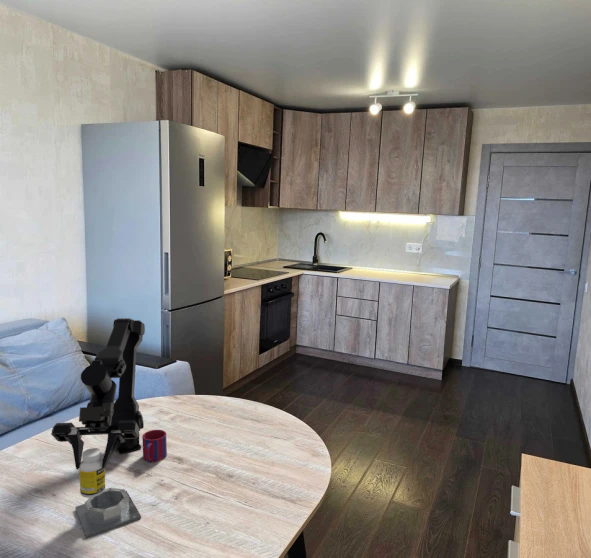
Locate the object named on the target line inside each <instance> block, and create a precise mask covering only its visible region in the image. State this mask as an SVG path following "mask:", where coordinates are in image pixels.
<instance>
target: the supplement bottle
mask: <svg viewBox="0 0 591 558" xmlns="http://www.w3.org/2000/svg"><path fill="white" fill-rule="evenodd" d="M103 458H104V457H102V449H100V448H96V447H95V448H89V449H88V448H87V449H86V450H83V452H82V458H81V463H80V466H79V469H78V471H79V494H80V495H81V496H82V497H83V498H87V499H89V498H90V497H96V496H98V495H100V494H102V493H103V492H104V490H105V489H106V467H105V468H103V467H102V464H103Z"/></svg>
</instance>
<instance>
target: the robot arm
mask: <svg viewBox="0 0 591 558" xmlns="http://www.w3.org/2000/svg"><path fill="white" fill-rule="evenodd" d="M145 328H146V325H145V323H143V321H141V320H138V319H137V320H134V319H133V318H125V317H123V318H122V317H121V318H116V319H114V320H113V327H112V331H111V333H110V335H109V338H108V341H107V342H106V346H105V347H104V348H103V349H102V350H100V351H98V353H97V354H96V355H95V357H94V359H93V360H92V361H91V363H90V365H88V366H86V367H85V368H84V369H83V370H82V372H81V373H80V380H81V382H82V384H83V385H84V386H85V387H84V388H86V390H87V391H88V393H90V396H89V397H90V399H89V402H88V403H87V404H86V407H84V406H83V407H80V408H79V416H78V422H81V424H82V425H84V426H78V427H77V426H75V424H73V422H56V423H55V424H54V425H53V427H52V429H51V434H50V435H51V436H52V437H53V438H54V439H56V441H57V442H61V443H62V442H63V443H65V442H68V444H69V445H71V447H72V452H73V458H74V459H73V460H74V465H75V469H76V470H79V466H80V463H81V462H82V454H83V452H84V446H85V445H84V444H85V442H84V440H83V439H82V438H83V436H96V435H98V436H99V435H100V436H101V435H102V436H103V435H107V442H106V446H105V450H104V454H103V457H102V458H103V464H102V467H103V468H105V469H106V467H107V465H108V463H109V462H110V460H111V458H112V457H113V455H114V453H115V451H117V452H118V454H119V455H122V454H126V453H129V452H133V451H137V450H140V449H142V445H141V444H140V431H141V429H144V428H145V426H144V417H143V414H142V413H141V411H140V405H139V403H138V401H137V400H136V398H135V382H136V369H137V368H136V364H137V350H138V347H139V346H140V345H141V343H142V342H143V337H144V335H145V332H146V331H145V330H146V329H145ZM113 379H119V380H118V385H117V384H116V382H115V381H114V380H113ZM117 386H118V387H117ZM117 389H118V393H117V392H116V391H117ZM116 393H117V394H118V397H117V398H116Z"/></svg>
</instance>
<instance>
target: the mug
mask: <svg viewBox="0 0 591 558" xmlns="http://www.w3.org/2000/svg"><path fill="white" fill-rule="evenodd" d="M141 439H142V458H143V460H144V462H147V463H156V462H157V463H158V462H160V461H163V460H164V459H165V458H166V457H167V456H168V455H167V454H168V451H167V444H168V443H167V432H166V431H165V430H163V429H162V430H161V429H151V430H148V431H146V432H144V433H143V434H142V438H141Z"/></svg>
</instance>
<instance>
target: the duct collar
mask: <svg viewBox="0 0 591 558" xmlns="http://www.w3.org/2000/svg"><path fill="white" fill-rule="evenodd" d="M74 508H75V512H76V515H77V518H78V521H79V523H80V525H81V528H82V531H83V533H84V537H85V539H88V538H91V537H94V536H97V535H99V534H103V533H104V532H107V531H110V530H113V529H116V528H118V527H119V528H120V527H122V526H125V525H126V524H130V523H133V522H136V521H138V520H141V519H142V515H141V513H140V511H139V510H138V508H137V506H136V505H135V503H134V501H133V500H132V498H131V496H130V494H129V492H128V490H125V489H124V488H116V487H109V488H105V490H104V492H103V493H102V494H100V495H98V496H96V497H90V498H87V499H86V501H85V502H84V503H83V504H81V505H77V506H75V507H74Z"/></svg>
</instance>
